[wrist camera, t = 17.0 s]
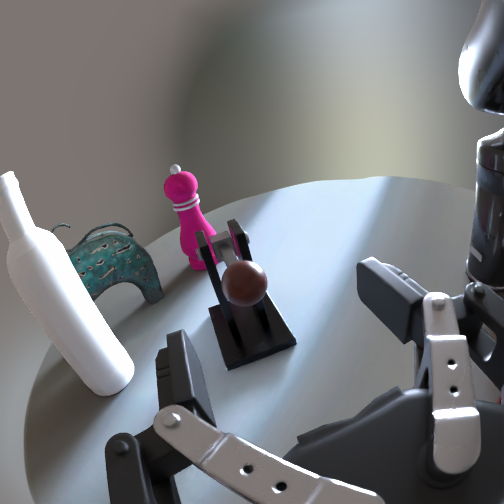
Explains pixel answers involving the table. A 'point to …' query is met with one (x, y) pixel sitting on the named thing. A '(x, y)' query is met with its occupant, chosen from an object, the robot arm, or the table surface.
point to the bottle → (60, 298)
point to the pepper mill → (188, 214)
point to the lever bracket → (243, 313)
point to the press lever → (238, 273)
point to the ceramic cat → (114, 263)
